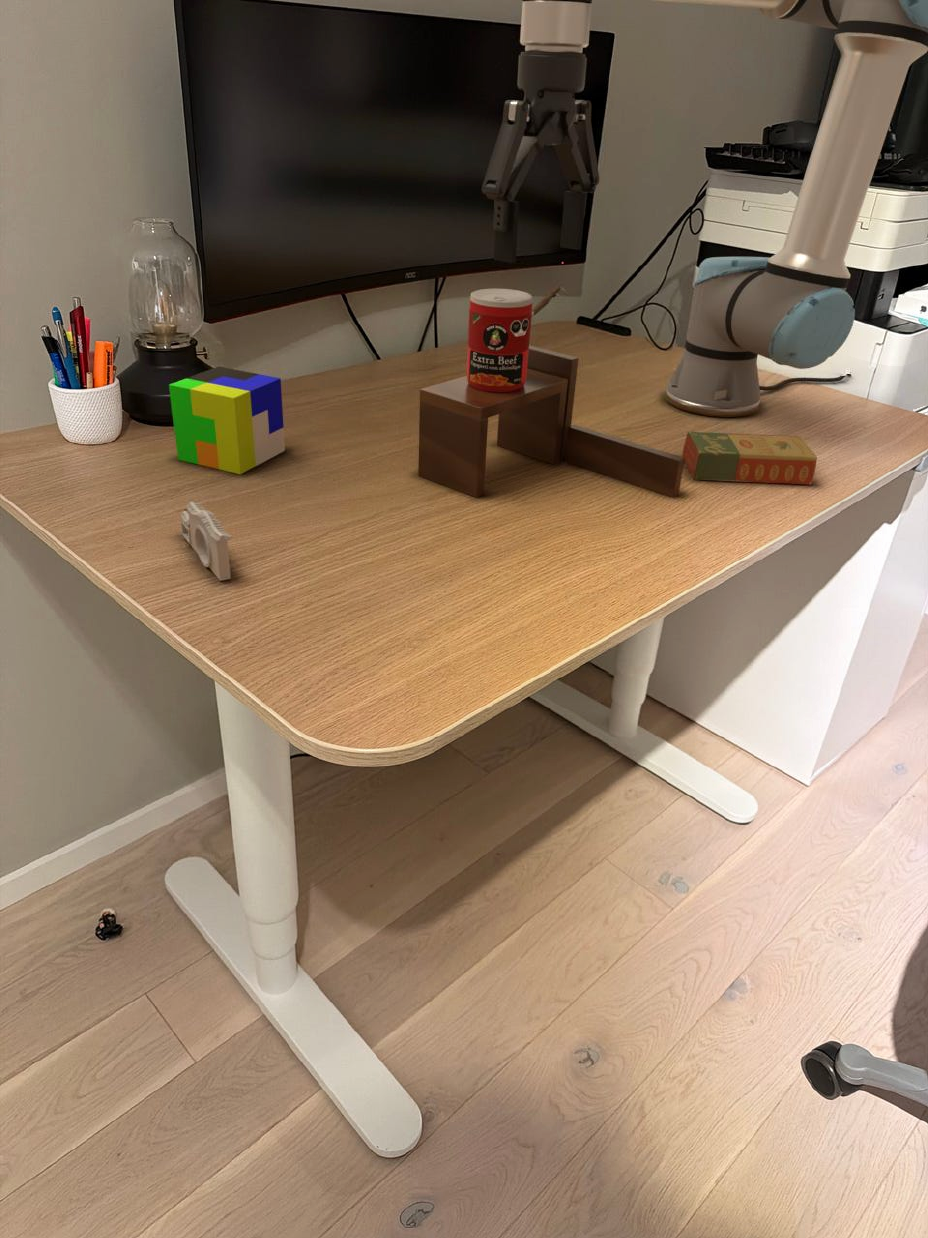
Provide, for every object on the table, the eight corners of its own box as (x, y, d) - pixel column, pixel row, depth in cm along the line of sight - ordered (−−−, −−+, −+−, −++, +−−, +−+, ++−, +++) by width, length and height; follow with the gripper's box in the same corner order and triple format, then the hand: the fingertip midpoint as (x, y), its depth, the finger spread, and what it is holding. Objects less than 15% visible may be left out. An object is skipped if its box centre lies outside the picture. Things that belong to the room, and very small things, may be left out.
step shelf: (511, 439, 133) (518, 342, 125) (678, 494, 118) (697, 387, 111) (417, 475, 119) (420, 368, 112) (593, 542, 104) (608, 424, 97)
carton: (811, 486, 122) (819, 456, 120) (692, 480, 122) (697, 450, 120) (793, 463, 129) (800, 434, 127) (681, 457, 129) (686, 428, 127)
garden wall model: (180, 537, 101) (174, 488, 98) (196, 534, 102) (190, 485, 99) (218, 584, 92) (213, 531, 89) (235, 580, 93) (231, 527, 90)
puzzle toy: (285, 450, 125) (280, 378, 120) (240, 474, 117) (233, 398, 112) (225, 437, 128) (218, 366, 123) (178, 459, 120) (168, 384, 115)
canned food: (461, 390, 114) (465, 298, 108) (471, 372, 121) (475, 285, 115) (522, 395, 113) (529, 304, 107) (528, 377, 120) (535, 290, 114)
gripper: (587, 52, 111) (571, 239, 122) (453, 45, 94) (448, 262, 105) (641, 54, 107) (619, 247, 118) (510, 46, 90) (499, 271, 101)
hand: (538, 254), depth 111 cm, fingers open, 13 cm apart
